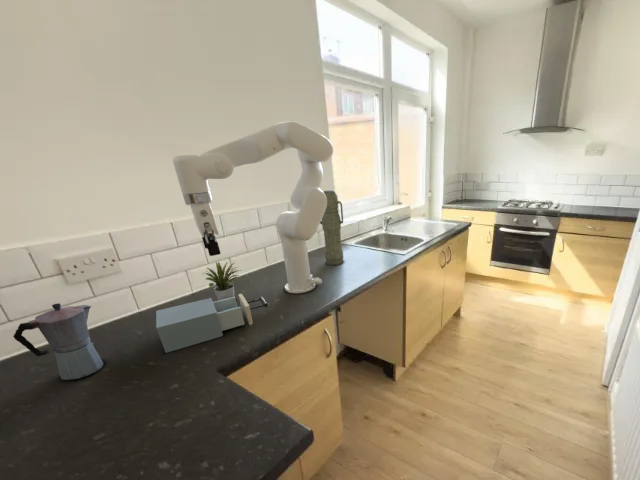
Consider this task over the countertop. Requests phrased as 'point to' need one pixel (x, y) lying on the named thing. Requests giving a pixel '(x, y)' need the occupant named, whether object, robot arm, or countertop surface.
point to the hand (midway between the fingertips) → (212, 251)
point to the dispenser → (187, 324)
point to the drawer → (235, 311)
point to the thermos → (332, 230)
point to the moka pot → (65, 340)
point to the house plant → (222, 281)
